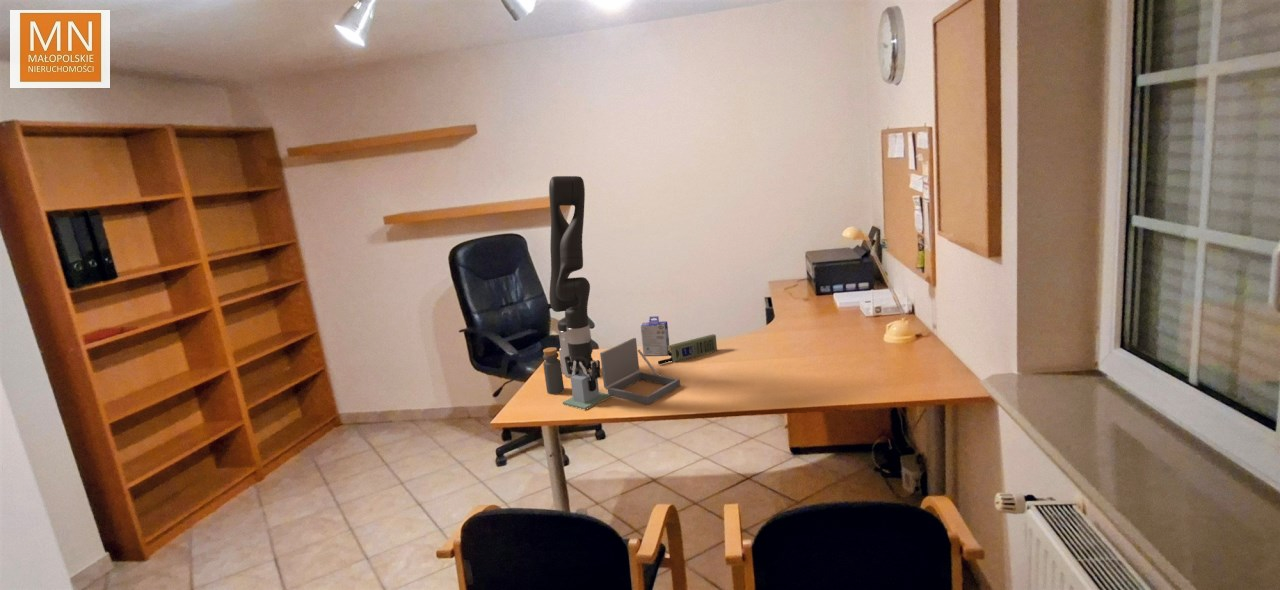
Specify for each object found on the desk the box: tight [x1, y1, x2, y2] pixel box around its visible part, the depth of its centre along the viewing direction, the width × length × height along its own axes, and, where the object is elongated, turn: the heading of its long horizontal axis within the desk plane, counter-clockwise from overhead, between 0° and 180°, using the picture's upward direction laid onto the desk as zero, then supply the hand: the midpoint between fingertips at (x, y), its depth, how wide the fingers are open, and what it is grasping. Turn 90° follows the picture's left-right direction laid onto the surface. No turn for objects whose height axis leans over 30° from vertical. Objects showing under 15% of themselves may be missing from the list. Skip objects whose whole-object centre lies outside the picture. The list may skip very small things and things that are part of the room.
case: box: [599, 337, 681, 406], centre depth 207 cm, size 18×18×14 cm
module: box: [570, 371, 600, 404], centre depth 204 cm, size 5×7×8 cm
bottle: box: [542, 347, 565, 395], centre depth 214 cm, size 6×6×15 cm
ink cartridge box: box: [640, 315, 670, 357], centre depth 243 cm, size 10×6×14 cm, turn 79°
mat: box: [562, 391, 612, 410], centre depth 205 cm, size 10×12×1 cm
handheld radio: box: [657, 333, 718, 365], centre depth 235 cm, size 7×3×25 cm
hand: (585, 388), depth 204 cm, fingers open, 6 cm apart
